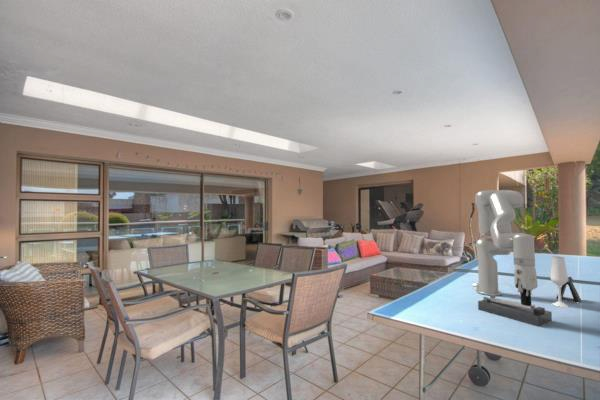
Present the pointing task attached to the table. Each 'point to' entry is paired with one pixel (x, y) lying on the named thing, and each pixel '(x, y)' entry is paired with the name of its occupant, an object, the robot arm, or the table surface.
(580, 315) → the table surface
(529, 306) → the strap
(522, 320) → the block
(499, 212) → the robot arm
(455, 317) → the table surface
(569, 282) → the phone stand
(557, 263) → the champagne flute
